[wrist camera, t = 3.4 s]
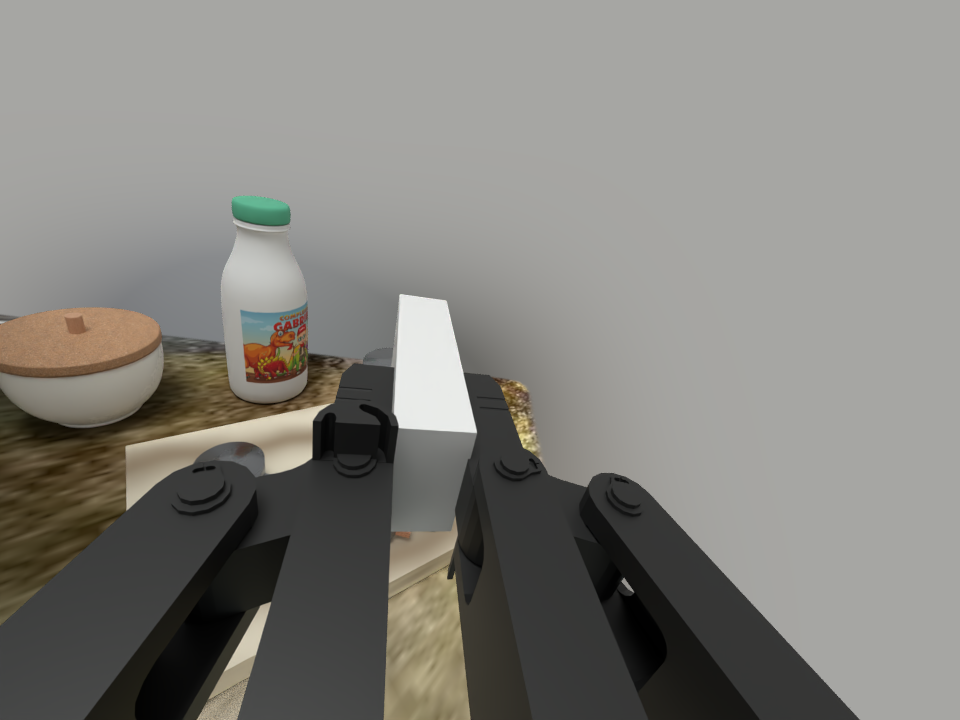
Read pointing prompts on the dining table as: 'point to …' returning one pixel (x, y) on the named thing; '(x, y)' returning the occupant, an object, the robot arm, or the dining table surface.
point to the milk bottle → (264, 305)
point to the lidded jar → (81, 364)
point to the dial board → (283, 450)
